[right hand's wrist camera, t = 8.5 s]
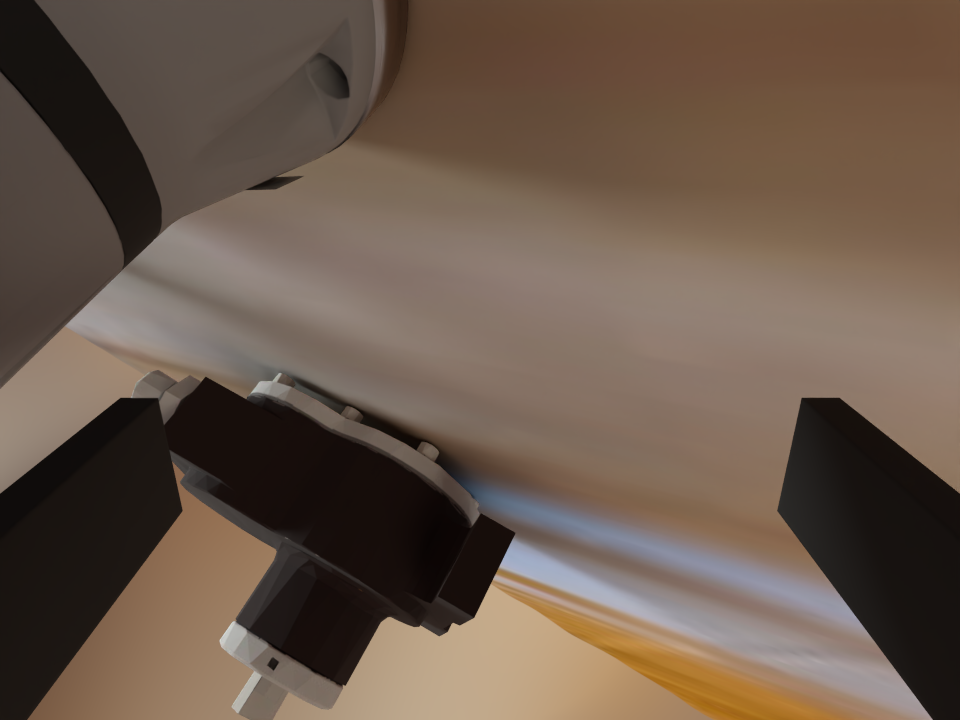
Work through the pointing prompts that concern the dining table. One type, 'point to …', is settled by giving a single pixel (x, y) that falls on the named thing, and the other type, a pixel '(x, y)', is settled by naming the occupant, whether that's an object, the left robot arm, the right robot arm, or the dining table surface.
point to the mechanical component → (325, 530)
